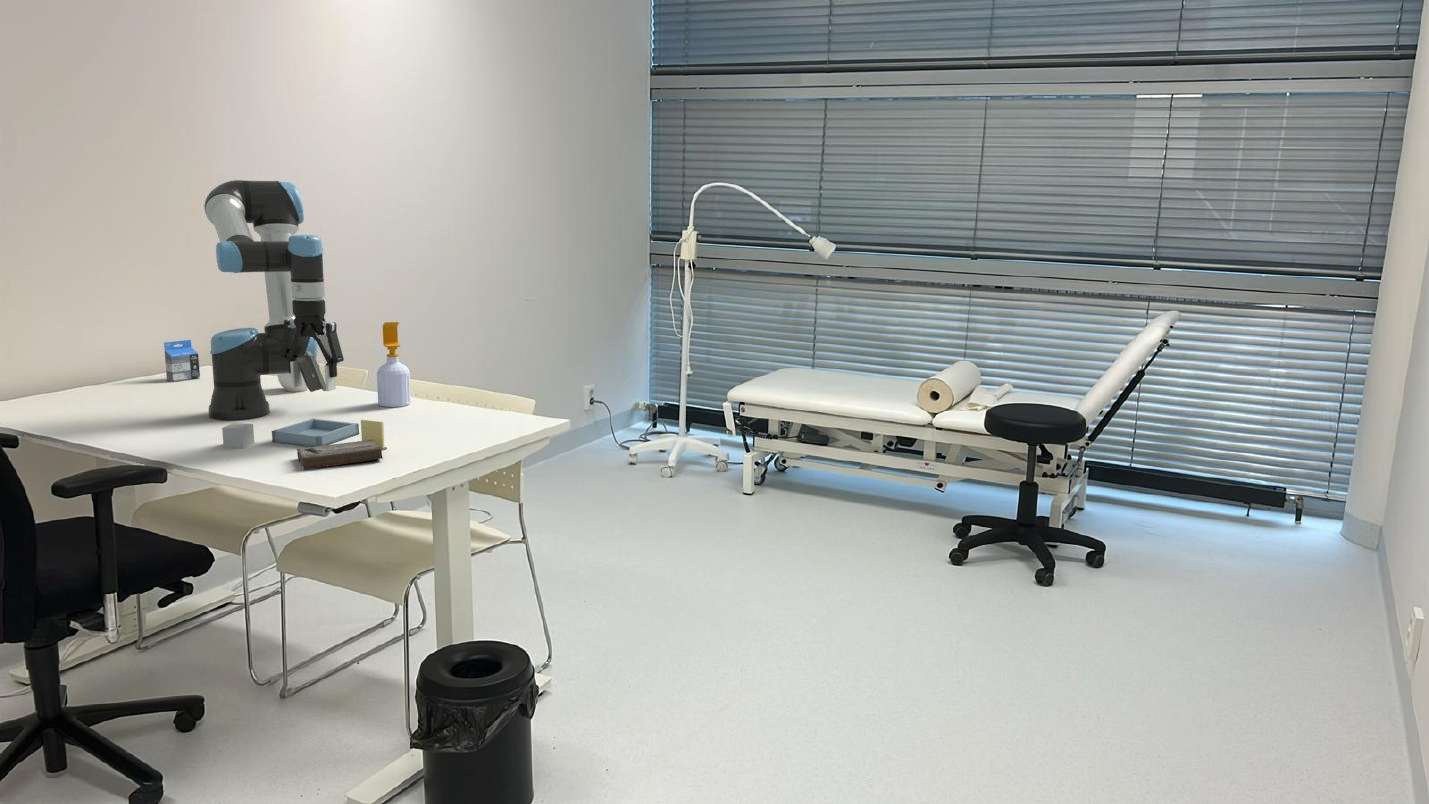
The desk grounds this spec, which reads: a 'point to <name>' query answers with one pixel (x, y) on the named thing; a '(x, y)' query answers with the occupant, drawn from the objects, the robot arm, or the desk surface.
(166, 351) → the label tape cartridge
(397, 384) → the soap bottle
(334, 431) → the parts tray
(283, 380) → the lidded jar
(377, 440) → the label card
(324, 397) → the desk surface
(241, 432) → the grey block
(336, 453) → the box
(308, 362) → the electrical switch
